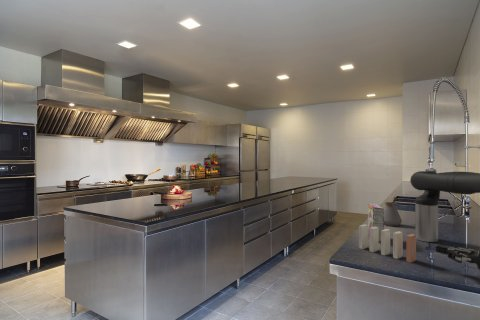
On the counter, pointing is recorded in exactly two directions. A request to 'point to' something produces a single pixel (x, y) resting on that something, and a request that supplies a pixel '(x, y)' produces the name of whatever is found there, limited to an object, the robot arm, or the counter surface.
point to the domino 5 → (411, 248)
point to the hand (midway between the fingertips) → (436, 248)
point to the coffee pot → (391, 214)
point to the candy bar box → (375, 218)
